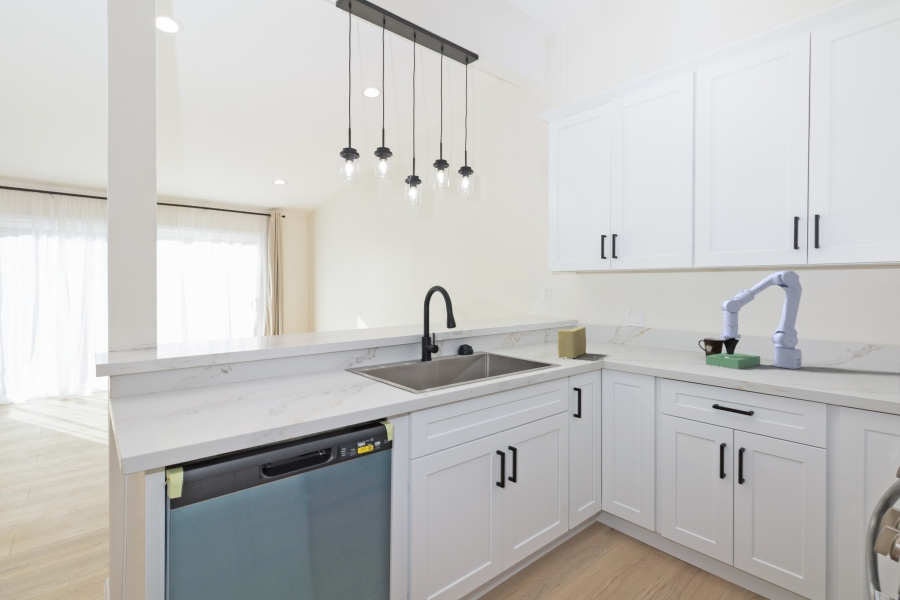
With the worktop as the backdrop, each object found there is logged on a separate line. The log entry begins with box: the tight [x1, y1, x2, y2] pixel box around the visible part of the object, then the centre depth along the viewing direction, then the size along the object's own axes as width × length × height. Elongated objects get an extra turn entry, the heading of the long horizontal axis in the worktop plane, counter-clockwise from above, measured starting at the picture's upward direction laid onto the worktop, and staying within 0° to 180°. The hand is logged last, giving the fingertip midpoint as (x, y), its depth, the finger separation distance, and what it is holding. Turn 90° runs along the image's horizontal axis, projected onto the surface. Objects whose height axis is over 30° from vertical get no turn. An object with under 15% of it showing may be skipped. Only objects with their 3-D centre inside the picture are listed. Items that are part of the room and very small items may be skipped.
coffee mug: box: [697, 337, 724, 357], centre depth 218 cm, size 12×9×10 cm
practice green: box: [705, 352, 761, 370], centre depth 200 cm, size 20×14×4 cm
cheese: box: [557, 326, 587, 359], centre depth 228 cm, size 22×10×15 cm, turn 137°
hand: (730, 354), depth 199 cm, fingers closed
